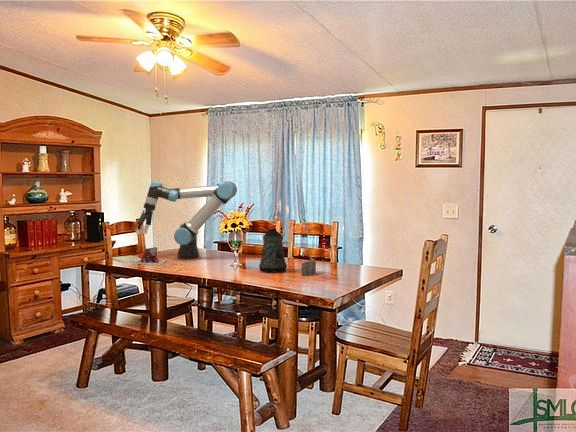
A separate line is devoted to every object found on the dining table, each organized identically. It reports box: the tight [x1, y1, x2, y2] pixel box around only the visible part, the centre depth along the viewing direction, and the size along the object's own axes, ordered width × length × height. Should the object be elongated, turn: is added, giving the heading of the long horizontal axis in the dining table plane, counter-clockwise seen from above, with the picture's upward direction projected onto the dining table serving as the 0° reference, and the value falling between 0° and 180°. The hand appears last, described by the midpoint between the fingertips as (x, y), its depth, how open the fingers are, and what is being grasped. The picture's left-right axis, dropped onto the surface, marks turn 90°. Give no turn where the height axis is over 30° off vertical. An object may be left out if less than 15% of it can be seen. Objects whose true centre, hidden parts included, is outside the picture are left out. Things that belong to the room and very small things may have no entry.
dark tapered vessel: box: [258, 228, 288, 274], centre depth 304 cm, size 16×19×25 cm
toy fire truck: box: [140, 246, 160, 263], centre depth 327 cm, size 7×12×10 cm, turn 148°
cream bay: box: [111, 255, 142, 264], centre depth 341 cm, size 18×13×2 cm
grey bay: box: [131, 259, 167, 266], centre depth 327 cm, size 18×13×2 cm
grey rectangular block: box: [301, 256, 317, 277], centre depth 293 cm, size 11×3×10 cm, turn 145°
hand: (141, 233), depth 340 cm, fingers open, 13 cm apart
